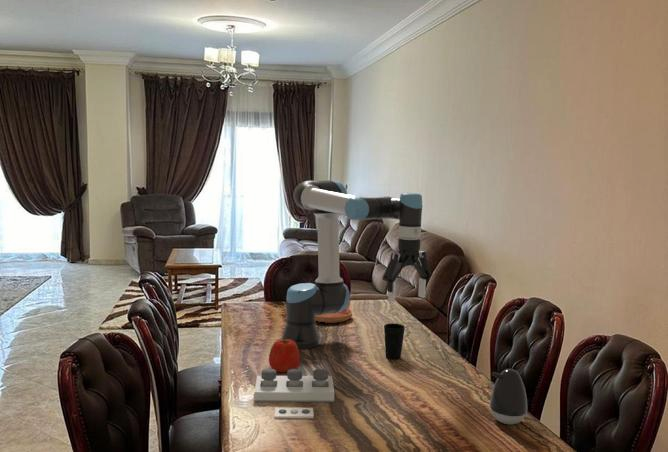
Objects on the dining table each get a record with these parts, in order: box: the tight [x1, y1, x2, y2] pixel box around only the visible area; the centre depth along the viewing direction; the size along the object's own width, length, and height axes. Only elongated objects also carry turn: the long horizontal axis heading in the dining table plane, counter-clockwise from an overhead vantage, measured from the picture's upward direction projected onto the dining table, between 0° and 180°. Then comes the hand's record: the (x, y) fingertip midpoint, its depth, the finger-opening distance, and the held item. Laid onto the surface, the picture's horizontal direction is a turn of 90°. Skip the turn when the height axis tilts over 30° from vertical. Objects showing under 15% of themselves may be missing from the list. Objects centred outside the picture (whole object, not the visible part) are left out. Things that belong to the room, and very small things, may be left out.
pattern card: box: [274, 407, 315, 419], centre depth 171 cm, size 6×11×1 cm, turn 93°
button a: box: [312, 368, 329, 387], centre depth 187 cm, size 5×5×5 cm
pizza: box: [316, 307, 353, 324], centre depth 278 cm, size 23×23×4 cm
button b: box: [286, 368, 303, 387], centre depth 186 cm, size 5×5×5 cm
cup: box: [383, 322, 406, 361], centre depth 223 cm, size 8×8×12 cm
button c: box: [260, 368, 277, 387], centre depth 186 cm, size 5×5×5 cm
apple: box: [268, 339, 301, 373], centre depth 208 cm, size 11×11×11 cm
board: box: [253, 375, 335, 403], centre depth 186 cm, size 14×24×3 cm, turn 93°
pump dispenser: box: [489, 368, 528, 425], centre depth 170 cm, size 10×10×15 cm
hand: (406, 299), depth 207 cm, fingers open, 13 cm apart
